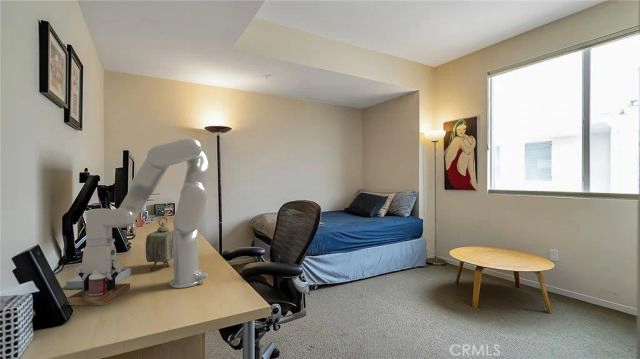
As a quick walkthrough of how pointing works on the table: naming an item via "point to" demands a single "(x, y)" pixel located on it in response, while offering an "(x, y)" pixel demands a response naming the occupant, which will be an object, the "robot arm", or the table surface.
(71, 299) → the walnut frame
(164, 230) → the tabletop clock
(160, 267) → the table surface
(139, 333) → the table surface
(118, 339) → the table surface
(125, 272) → the slate tray
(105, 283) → the pill bottle
